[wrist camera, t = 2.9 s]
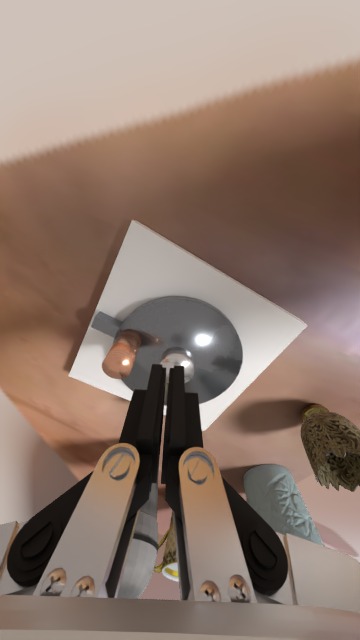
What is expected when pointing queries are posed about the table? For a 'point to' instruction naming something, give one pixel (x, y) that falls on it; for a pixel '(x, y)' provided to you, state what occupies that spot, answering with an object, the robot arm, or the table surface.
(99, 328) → the grey round disc
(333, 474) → the cup
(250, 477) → the teal cylinder
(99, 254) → the table surface
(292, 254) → the table surface
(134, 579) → the beverage cup
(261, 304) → the base plate
